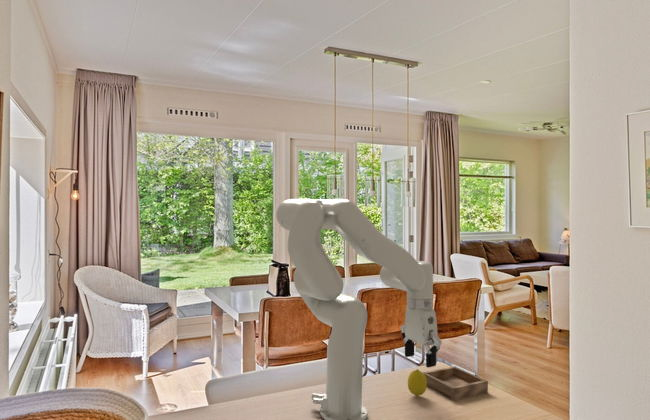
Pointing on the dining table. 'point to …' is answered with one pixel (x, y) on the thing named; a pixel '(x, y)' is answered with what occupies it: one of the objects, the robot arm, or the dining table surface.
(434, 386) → the bin
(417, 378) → the lemon
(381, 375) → the dining table surface
